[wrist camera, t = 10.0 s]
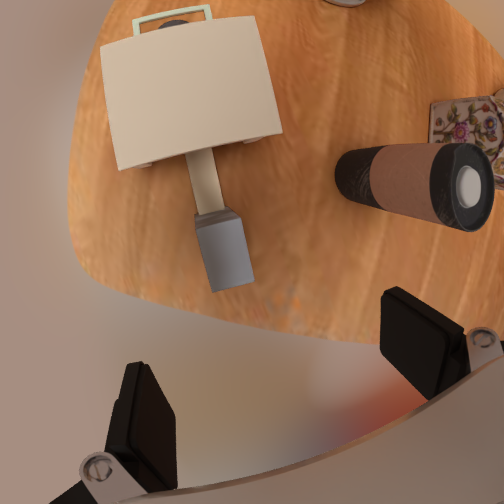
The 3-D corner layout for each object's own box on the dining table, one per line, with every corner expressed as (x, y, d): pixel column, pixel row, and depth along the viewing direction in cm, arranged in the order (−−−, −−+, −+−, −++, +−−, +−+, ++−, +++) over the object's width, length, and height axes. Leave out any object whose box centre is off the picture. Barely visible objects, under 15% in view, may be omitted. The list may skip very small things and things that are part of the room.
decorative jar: (428, 101, 36) (515, 89, 19) (467, 126, 39) (544, 126, 22) (423, 168, 39) (516, 178, 22) (462, 186, 41) (542, 200, 24)
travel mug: (372, 208, 39) (486, 241, 20) (327, 196, 37) (441, 223, 18) (383, 157, 37) (499, 161, 18) (338, 140, 35) (456, 126, 16)
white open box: (237, 51, 30) (254, 15, 20) (258, 143, 33) (282, 132, 24) (121, 76, 28) (99, 46, 18) (138, 171, 31) (118, 171, 22)
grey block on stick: (199, 76, 30) (203, 42, 20) (237, 253, 36) (254, 281, 27) (166, 84, 29) (158, 51, 20) (206, 261, 36) (212, 292, 26)
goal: (208, 5, 27) (209, 4, 26) (219, 51, 29) (219, 49, 29) (132, 21, 25) (132, 19, 25) (138, 68, 28) (138, 67, 27)
